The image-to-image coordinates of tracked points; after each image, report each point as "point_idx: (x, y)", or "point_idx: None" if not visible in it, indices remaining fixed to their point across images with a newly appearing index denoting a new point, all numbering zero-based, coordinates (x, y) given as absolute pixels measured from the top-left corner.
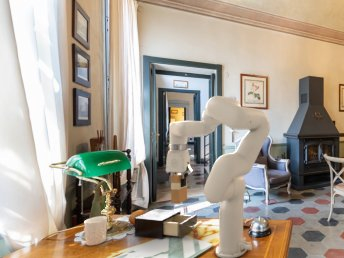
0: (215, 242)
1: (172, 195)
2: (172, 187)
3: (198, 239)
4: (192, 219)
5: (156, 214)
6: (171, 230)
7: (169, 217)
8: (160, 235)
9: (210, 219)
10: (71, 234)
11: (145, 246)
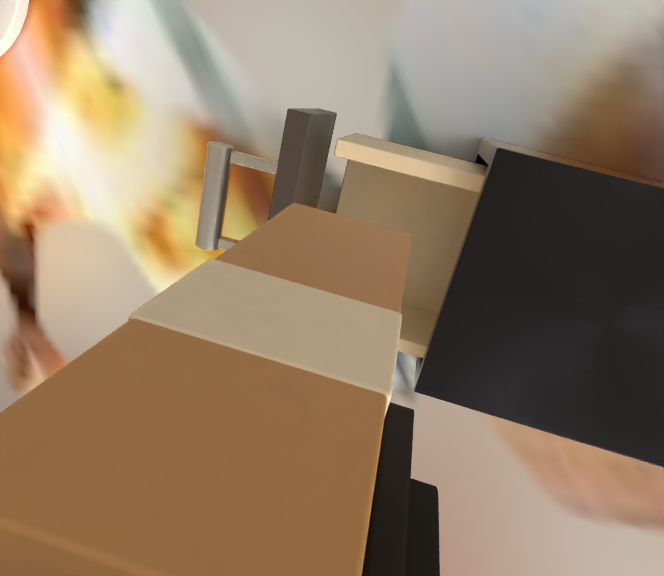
0: (86, 78)
1: (378, 262)
2: (353, 316)
3: (212, 124)
4: None
5: (630, 324)
6: (406, 149)
7: (460, 250)
8: (496, 141)
9: None
10: None
11: (561, 6)
